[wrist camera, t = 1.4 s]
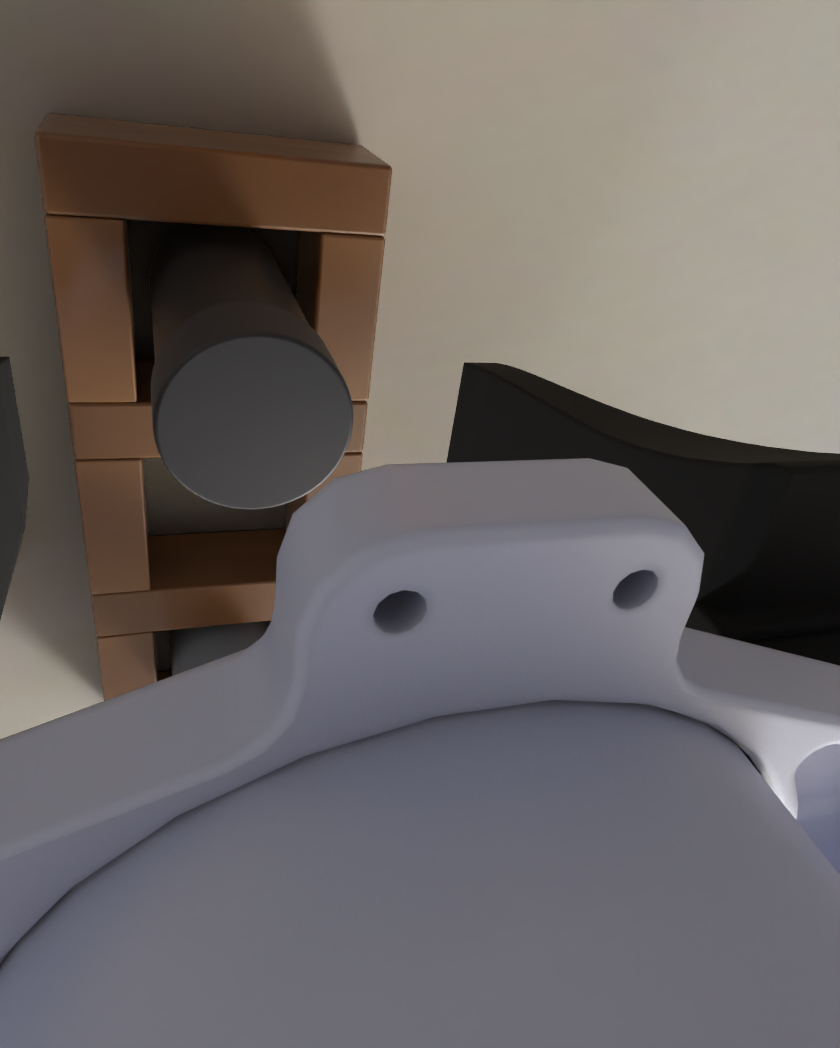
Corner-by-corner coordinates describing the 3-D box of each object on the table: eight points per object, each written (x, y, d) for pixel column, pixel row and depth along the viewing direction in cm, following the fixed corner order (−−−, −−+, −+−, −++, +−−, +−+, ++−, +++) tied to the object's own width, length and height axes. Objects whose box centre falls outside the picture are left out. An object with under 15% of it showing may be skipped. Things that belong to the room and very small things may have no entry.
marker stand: (318, 682, 27) (333, 738, 25) (113, 708, 25) (112, 770, 23) (364, 145, 18) (393, 166, 16) (45, 112, 15) (33, 131, 14)
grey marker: (270, 652, 25) (313, 855, 19) (167, 663, 24) (179, 880, 18) (273, 574, 24) (321, 771, 18) (162, 582, 23) (174, 795, 17)
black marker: (281, 349, 20) (346, 507, 14) (148, 347, 19) (157, 516, 13) (286, 218, 18) (363, 334, 12) (140, 208, 17) (146, 329, 11)
